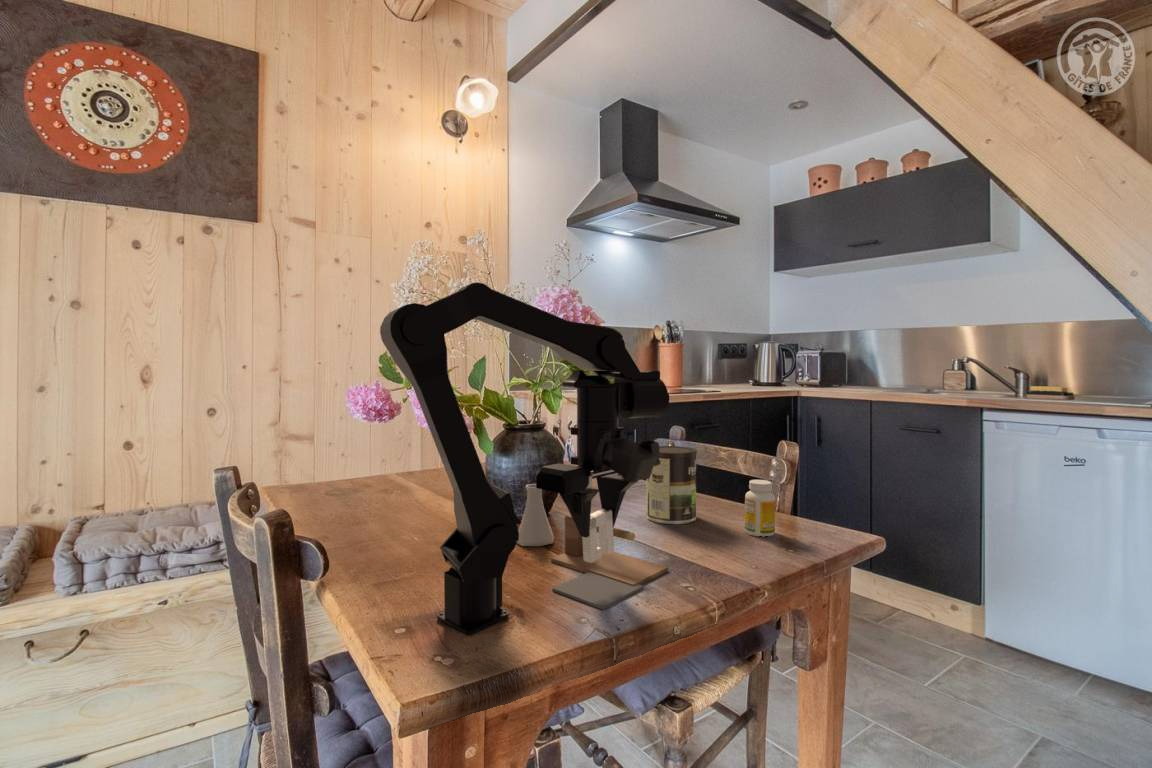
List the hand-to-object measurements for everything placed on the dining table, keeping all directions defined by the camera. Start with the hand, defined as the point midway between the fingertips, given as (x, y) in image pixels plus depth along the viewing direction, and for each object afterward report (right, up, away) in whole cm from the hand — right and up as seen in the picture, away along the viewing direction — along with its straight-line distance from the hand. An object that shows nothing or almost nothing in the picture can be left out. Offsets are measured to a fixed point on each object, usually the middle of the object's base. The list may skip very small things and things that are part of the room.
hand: (597, 532), depth 77 cm
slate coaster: (0, -8, 0) cm, 8 cm away
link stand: (+2, -8, +10) cm, 12 cm away
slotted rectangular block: (0, -3, 0) cm, 3 cm away
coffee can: (+16, -7, +37) cm, 41 cm away
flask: (-10, -8, +22) cm, 25 cm away
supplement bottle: (+31, -7, +26) cm, 41 cm away
